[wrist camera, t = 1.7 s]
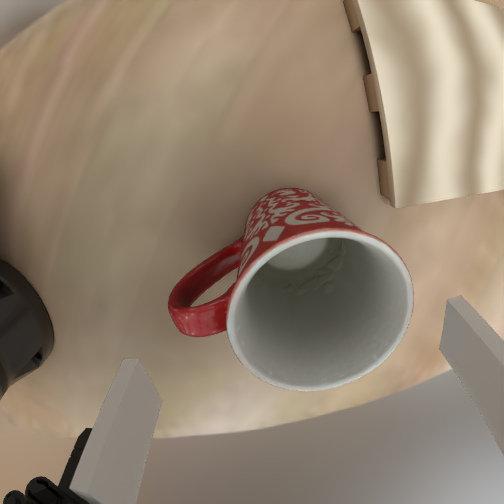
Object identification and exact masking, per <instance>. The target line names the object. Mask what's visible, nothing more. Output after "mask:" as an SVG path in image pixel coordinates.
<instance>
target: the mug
mask: <svg viewBox="0 0 504 504" xmlns="http://www.w3.org/2000/svg"><path fill="white" fill-rule="evenodd" d="M237 267H239V269H238V275H237V281H236V282H235V283H233V285H232V286H231V287H230V288H229V289H228V291H227V292H226V293H225V294H223V295H222V296H220V297H218V298H216V299H214V300H212V301H210V302H208V303H205V304H203V305H199V306H195V307H190V306H191V305H192V303H193V302H194V301H195V300H196V299H197V298H198V297H199V296H200V295H201V294H203V293H204V292H205V291H206V290H207V289H208V288H210V287H211V286H212V285H213V284H214V283H215V282H217V281H218V280H220V279H221V278H222V277H223V276H225V275H226V274H228V273H229V272H231V271H232V270H234V269H235V268H237ZM413 305H414V291H413V284H412V279H411V276H410V274H409V271H408V269H407V267H406V265H405V263H404V262H403V260H402V259H401V257H400V256H399V255H398V254H397V252H396V251H395V250H394V249H393V248H392V247H391V246H389V245H388V244H387V243H385V242H384V241H382V240H381V239H379V238H377V237H376V236H373V235H371V234H368V233H366V232H364V231H362V230H361V229H360V228H359V227H357V226H356V225H355V224H354V223H352V222H351V221H350V220H348V219H346V218H345V217H344V216H342V215H341V214H340V213H339V212H337V211H336V210H334V209H333V208H331V207H330V206H329V205H327V204H326V203H325V202H323V201H322V200H321V199H320V198H318V197H317V196H315V195H314V194H312V193H310V192H308V191H305V190H302V189H296V188H285V189H280V190H276V191H274V192H271V193H269V194H268V195H266V196H264V197H263V198H262V199H260V200H259V201H258V202H257V203H256V205H255V206H254V207H253V208H252V210H251V212H250V214H249V216H248V218H247V221H246V226H245V233H244V236H243V237H242V238H240V239H239V240H238V241H236V242H234V243H233V244H231V245H229V246H227V247H225V248H223V249H222V250H220V251H219V252H217V253H215V254H214V255H212V256H211V257H209V258H208V259H206V260H205V261H203V262H202V263H200V264H199V265H198V266H196V267H195V268H194V269H192V270H191V271H190V272H188V273H187V274H186V275H185V276H184V277H183V278H182V279H181V280H180V281H179V282H178V283H177V284H176V286H175V287H174V288H173V290H172V292H171V294H170V296H169V301H168V309H169V313H170V315H171V317H172V320H173V322H174V323H175V325H176V327H177V328H178V329H179V331H180V332H181V333H183V334H185V335H188V336H192V337H205V336H210V335H214V334H217V333H220V332H223V331H225V330H227V335H228V339H229V341H230V344H231V346H232V348H233V351H234V353H235V354H236V356H237V358H238V359H239V360H240V362H241V363H242V364H243V365H244V366H245V367H246V368H247V369H248V370H249V371H250V372H251V373H252V374H253V375H255V376H256V377H258V378H259V379H261V380H263V381H265V382H267V383H269V384H271V385H274V386H277V387H280V388H284V389H288V390H294V391H318V390H325V389H331V388H335V387H338V386H341V385H344V384H347V383H350V382H352V381H354V380H356V379H358V378H360V377H362V376H364V375H366V374H367V373H369V372H370V371H372V370H373V369H375V368H376V367H377V366H378V365H380V364H381V363H382V362H383V361H384V360H385V359H386V358H387V357H388V356H389V355H390V354H391V353H392V352H393V350H394V349H395V348H396V347H397V345H398V344H399V342H400V341H401V339H402V338H403V336H404V334H405V332H406V330H407V328H408V325H409V322H410V320H411V316H412V312H413Z"/></svg>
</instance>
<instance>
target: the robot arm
mask: <svg viewBox="0 0 504 504" xmlns="http://www.w3.org/2000/svg"><path fill="white" fill-rule="evenodd" d="M53 341H54V338H53V330H52V325H51V322H50V319H49V316H48V314H47V311H46V309H45V307H44V305H43V303H42V302H41V300H40V298H39V297H38V295H37V294H36V292H35V291H34V289H33V288H32V287H31V285H30V284H29V283H28V282H27V281H26V280H25V278H24V277H23V276H22V275H21V274H20V273H18V272H17V271H16V270H15V269H14V268H12V267H11V266H10V265H8V264H7V263H5V262H3V261H1V260H0V400H1V398H2V397H3V395H4V394H5V392H6V391H7V389H8V388H9V387H10V386H11V385H12V384H14V383H15V382H17V381H19V380H20V379H22V378H23V377H25V376H26V375H28V374H30V373H31V372H33V371H34V370H36V369H38V368H39V367H40V366H41V365H42V364H43V363H44V361H45V360H46V358H47V357H48V355H49V354H50V353H51V351H52V348H53ZM439 349H440V351H441V352H442V354H443V355H444V357H445V358H446V360H447V361H448V363H449V364H450V366H451V367H452V369H453V370H454V372H455V373H456V375H457V376H458V378H459V379H460V381H461V383H462V384H463V386H464V387H465V389H466V391H467V392H468V394H469V395H470V397H471V399H472V400H473V402H474V403H475V405H476V407H477V408H478V410H479V412H480V414H481V415H482V417H483V419H484V421H485V422H486V424H487V426H488V428H489V429H490V431H491V433H492V435H493V436H494V438H495V440H496V442H497V444H498V446H499V448H500V449H501V451H502V453H503V455H504V341H503V340H502V339H501V337H500V336H499V335H498V334H497V333H496V332H495V331H494V330H493V329H492V327H491V326H490V325H489V324H488V323H487V322H486V321H485V320H484V319H483V318H482V317H481V316H480V315H479V313H478V312H477V311H476V310H475V309H474V308H473V307H472V306H471V305H470V304H469V303H468V302H467V301H466V300H465V299H464V298H463V297H462V296H458V297H454V298H451V299H448V300H447V304H446V311H445V318H444V325H443V331H442V337H441V343H440V348H439ZM161 403H162V399H161V398H160V396H159V394H158V392H157V391H156V389H155V387H154V385H153V384H152V382H151V380H150V378H149V377H148V375H147V373H146V371H145V369H144V367H143V365H142V364H141V362H140V360H139V358H134V359H123V362H122V364H121V366H120V368H119V370H118V372H117V374H116V377H115V379H114V381H113V383H112V385H111V388H110V390H109V392H108V394H107V396H106V399H105V401H104V403H103V406H102V408H101V410H100V412H99V415H98V417H97V419H96V422H95V424H94V426H93V428H86V429H85V430H84V431H83V432H82V433H81V434H80V436H79V437H78V439H77V442H76V444H75V446H74V449H73V451H72V453H71V458H69V460H68V463H67V465H66V468H65V470H64V473H63V475H62V478H61V480H60V483H59V485H58V487H57V486H56V485H55V484H54V483H53V482H51V481H50V480H49V479H47V478H46V477H41V476H40V477H36V478H34V479H32V480H31V481H30V482H29V484H28V485H27V487H26V490H25V495H24V494H23V493H21V492H20V491H16V490H13V491H11V492H9V493H8V494H7V495H6V496H5V498H4V501H3V504H136V500H137V496H138V492H139V488H140V483H141V479H142V475H143V471H144V467H145V463H146V459H147V456H148V451H149V448H150V444H151V440H152V436H153V433H154V429H155V425H156V421H157V418H158V414H159V410H160V407H161Z"/></svg>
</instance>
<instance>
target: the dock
mask: <svg viewBox="0 0 504 504" xmlns="http://www.w3.org/2000/svg"><path fill="white" fill-rule="evenodd" d="M343 3H344V6H345V10H346V13H347V16H348V20H349V23H350V27H351V30H352V32H362V35H363V39H364V43H365V47H366V51H367V55H368V59H369V63H370V68H371V72H372V73H371V74H369V75H366V76H363V80H364V85H365V89H366V95H367V100H368V105H369V111H370V112H374V111H379V113H380V119H381V125H382V132H383V139H384V146H385V154H386V158H382V159H377V164H378V172H379V182H380V192H381V194H382V195H384V196H385V197H387V198H389V199H390V204H391V206H392V207H394V208H395V209H397V208H403V207H408V206H414V205H419V204H425V203H430V202H436V201H441V200H447V199H453V198H458V197H464V196H470V195H476V194H481V193H487V192H493V191H499V190H504V9H501V8H498V7H495V6H492V5H488V4H485V3H481V2H478V1H474V0H344V1H343Z"/></svg>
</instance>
